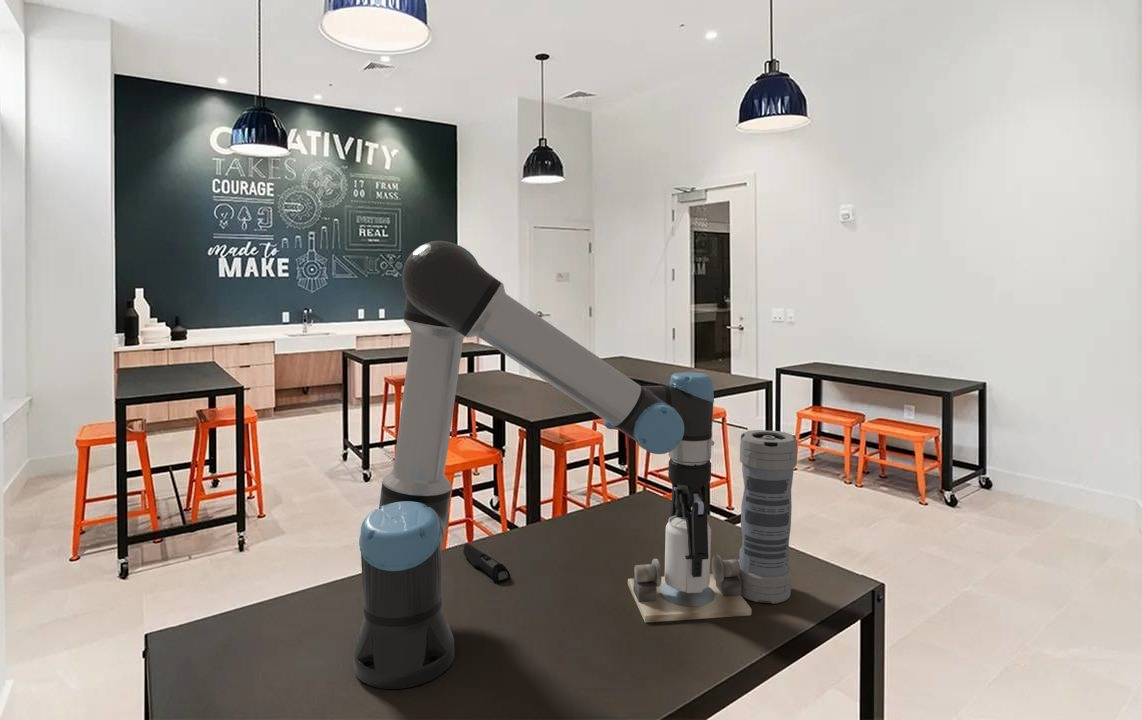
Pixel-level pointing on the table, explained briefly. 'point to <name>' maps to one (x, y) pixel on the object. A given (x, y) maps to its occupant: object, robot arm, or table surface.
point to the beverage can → (681, 554)
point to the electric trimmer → (487, 564)
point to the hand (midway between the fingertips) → (686, 580)
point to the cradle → (689, 594)
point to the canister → (766, 514)
